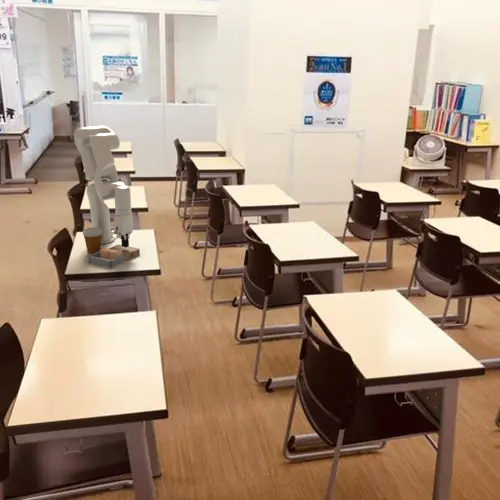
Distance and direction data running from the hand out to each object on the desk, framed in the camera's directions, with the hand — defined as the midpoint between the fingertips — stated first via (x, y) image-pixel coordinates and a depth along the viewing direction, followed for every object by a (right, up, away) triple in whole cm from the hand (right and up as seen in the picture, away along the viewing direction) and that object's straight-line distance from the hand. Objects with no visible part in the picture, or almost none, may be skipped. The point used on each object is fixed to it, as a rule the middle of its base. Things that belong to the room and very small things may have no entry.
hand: (125, 246), depth 268 cm
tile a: (-7, -4, -5) cm, 9 cm away
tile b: (-2, -4, -7) cm, 8 cm away
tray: (-7, -8, -7) cm, 13 cm away
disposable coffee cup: (-17, -3, +5) cm, 18 cm away
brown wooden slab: (-2, -5, +1) cm, 5 cm away
